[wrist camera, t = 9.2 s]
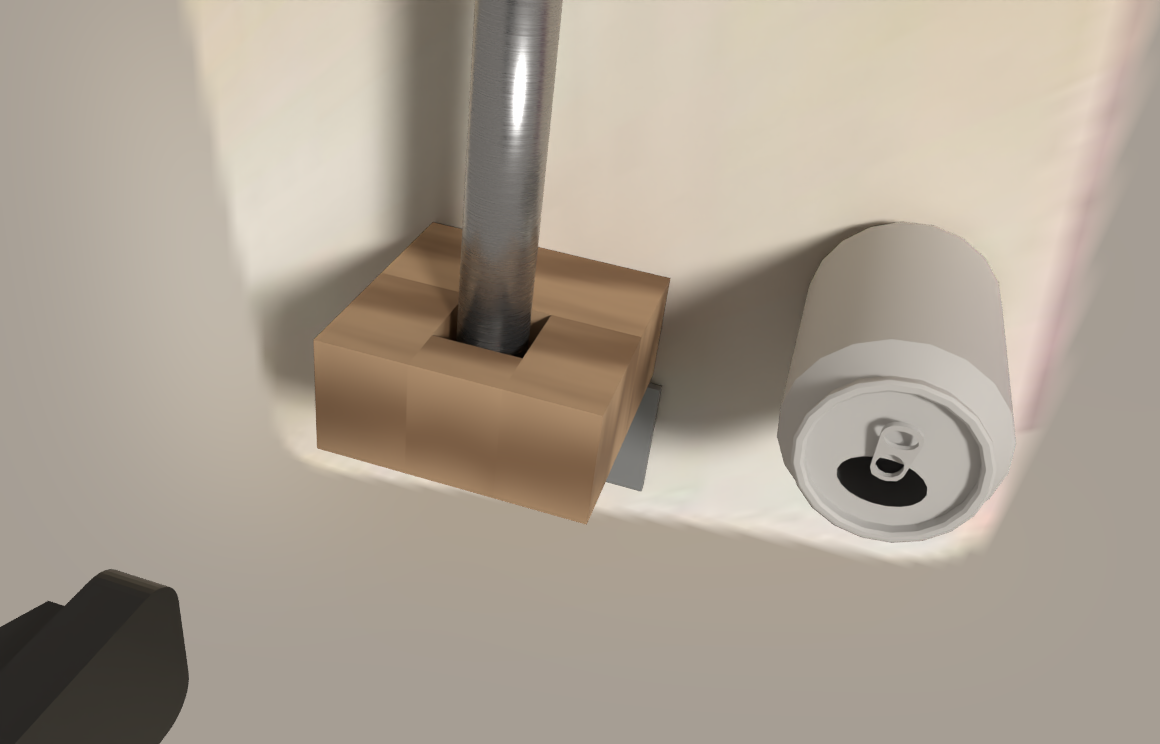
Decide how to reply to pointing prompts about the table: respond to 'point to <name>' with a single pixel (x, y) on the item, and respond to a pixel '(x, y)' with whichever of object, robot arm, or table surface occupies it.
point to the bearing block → (491, 378)
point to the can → (899, 385)
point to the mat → (637, 443)
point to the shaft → (505, 169)
